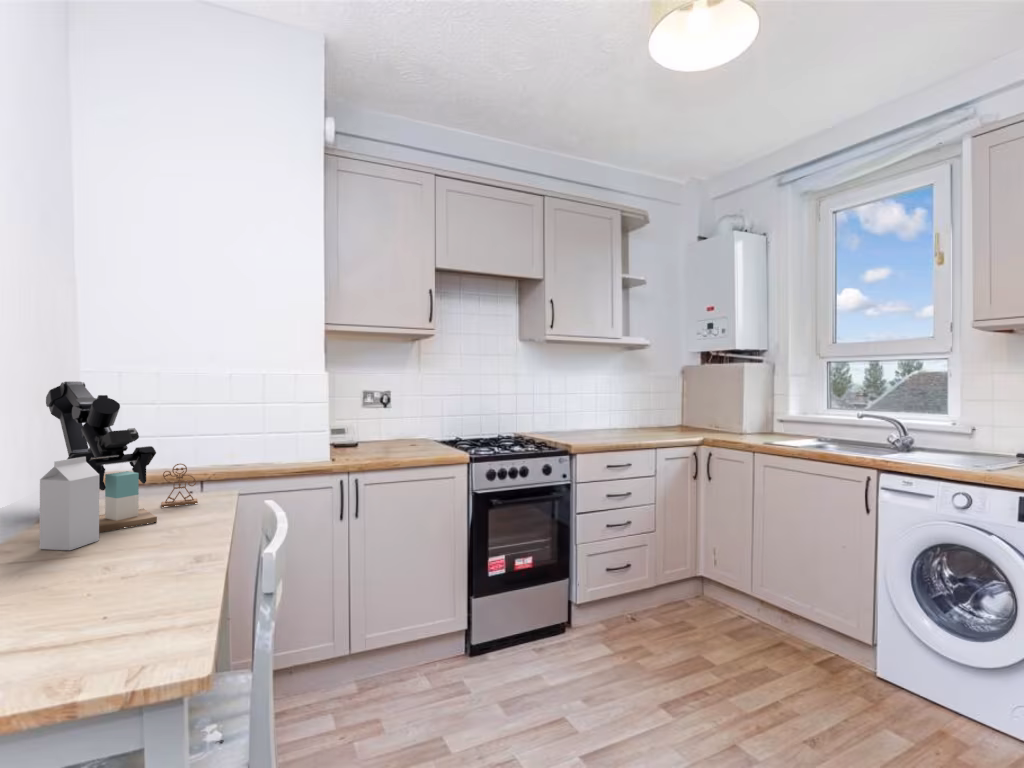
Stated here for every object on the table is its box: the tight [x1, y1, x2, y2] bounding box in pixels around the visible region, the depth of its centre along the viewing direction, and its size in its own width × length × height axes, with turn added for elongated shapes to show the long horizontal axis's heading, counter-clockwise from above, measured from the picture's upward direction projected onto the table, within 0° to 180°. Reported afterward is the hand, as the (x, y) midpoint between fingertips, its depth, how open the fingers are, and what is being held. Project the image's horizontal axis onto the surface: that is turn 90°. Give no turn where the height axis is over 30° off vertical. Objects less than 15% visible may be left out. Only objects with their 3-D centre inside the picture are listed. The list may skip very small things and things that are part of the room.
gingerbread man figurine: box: [160, 462, 199, 508], centre depth 150 cm, size 9×4×12 cm, turn 124°
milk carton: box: [39, 457, 100, 551], centre depth 113 cm, size 7×7×19 cm
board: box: [99, 508, 158, 533], centre depth 131 cm, size 12×12×2 cm
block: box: [104, 470, 140, 521], centre depth 130 cm, size 5×5×11 cm
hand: (125, 485), depth 130 cm, fingers open, 9 cm apart
